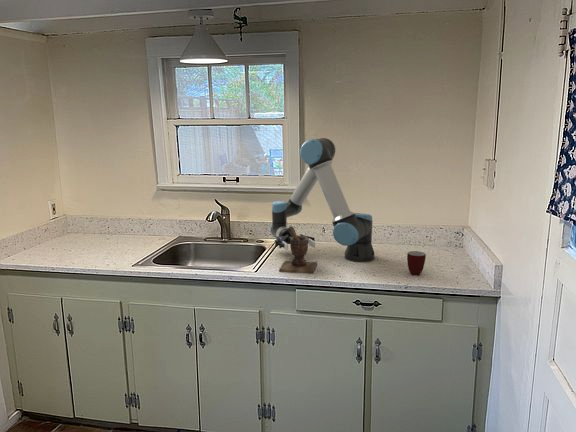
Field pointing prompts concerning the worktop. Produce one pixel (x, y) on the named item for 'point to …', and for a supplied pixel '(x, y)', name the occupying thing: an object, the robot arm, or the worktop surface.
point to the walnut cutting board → (298, 267)
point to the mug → (416, 262)
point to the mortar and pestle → (298, 247)
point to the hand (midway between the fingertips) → (301, 246)
